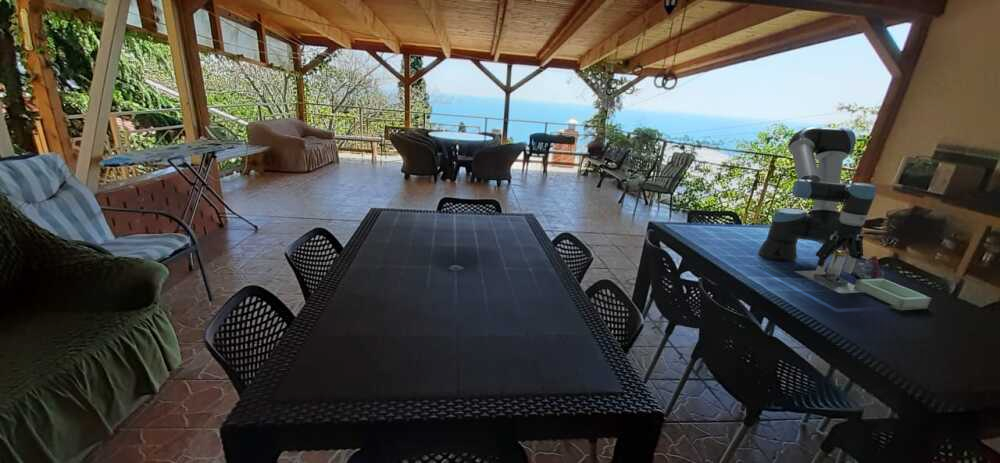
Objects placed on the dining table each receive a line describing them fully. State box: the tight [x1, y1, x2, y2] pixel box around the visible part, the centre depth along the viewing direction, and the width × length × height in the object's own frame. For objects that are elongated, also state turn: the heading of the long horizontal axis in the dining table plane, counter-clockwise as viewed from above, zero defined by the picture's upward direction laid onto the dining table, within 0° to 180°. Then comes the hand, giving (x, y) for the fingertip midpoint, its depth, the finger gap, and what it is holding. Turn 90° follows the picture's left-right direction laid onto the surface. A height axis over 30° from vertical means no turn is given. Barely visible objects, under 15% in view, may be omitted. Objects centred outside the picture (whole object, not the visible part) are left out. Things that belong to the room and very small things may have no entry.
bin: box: [854, 278, 932, 311], centre depth 148 cm, size 16×13×4 cm
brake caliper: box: [851, 255, 885, 280], centre depth 164 cm, size 11×11×12 cm
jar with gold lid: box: [824, 249, 849, 281], centre depth 157 cm, size 5×5×13 cm
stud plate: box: [794, 270, 864, 294], centre depth 159 cm, size 20×14×2 cm
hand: (833, 272), depth 158 cm, fingers open, 13 cm apart
